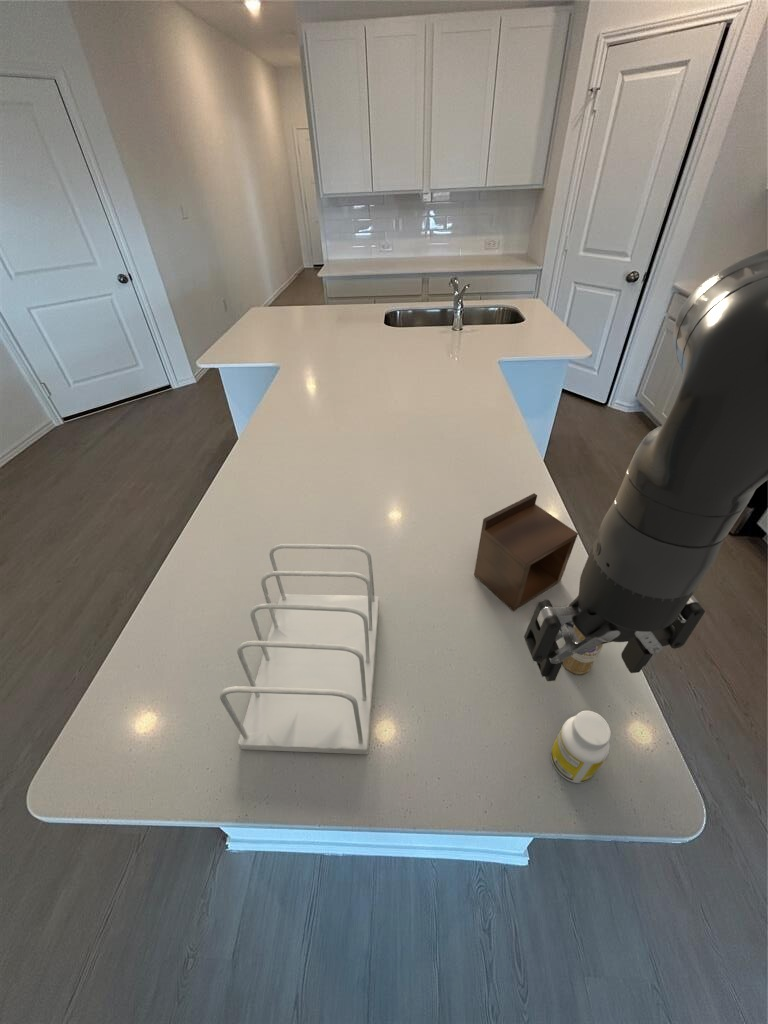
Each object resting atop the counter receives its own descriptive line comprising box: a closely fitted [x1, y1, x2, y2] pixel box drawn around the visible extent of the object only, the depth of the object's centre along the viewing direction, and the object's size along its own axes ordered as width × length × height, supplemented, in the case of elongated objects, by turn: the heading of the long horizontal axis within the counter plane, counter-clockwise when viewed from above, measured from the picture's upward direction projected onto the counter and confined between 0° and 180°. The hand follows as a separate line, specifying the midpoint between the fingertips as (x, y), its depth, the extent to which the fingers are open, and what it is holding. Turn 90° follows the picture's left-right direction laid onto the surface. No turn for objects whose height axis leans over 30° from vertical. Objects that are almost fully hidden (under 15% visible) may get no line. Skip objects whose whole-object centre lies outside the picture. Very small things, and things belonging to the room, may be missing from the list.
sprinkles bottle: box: [562, 625, 604, 675], centre depth 63 cm, size 5×5×14 cm
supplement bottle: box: [550, 710, 612, 784], centre depth 54 cm, size 5×5×10 cm
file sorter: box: [219, 543, 380, 755], centre depth 63 cm, size 25×17×16 cm
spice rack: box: [473, 493, 579, 612], centre depth 76 cm, size 10×12×14 cm
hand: (588, 668), depth 44 cm, fingers open, 8 cm apart
